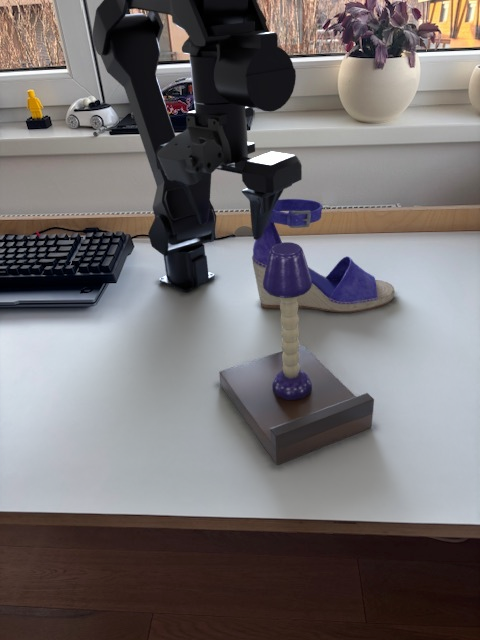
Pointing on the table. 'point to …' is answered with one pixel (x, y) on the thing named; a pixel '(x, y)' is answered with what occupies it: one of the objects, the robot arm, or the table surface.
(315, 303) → the sandal
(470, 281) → the table surface
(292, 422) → the shoe shelf
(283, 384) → the toy lamp
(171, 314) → the table surface
